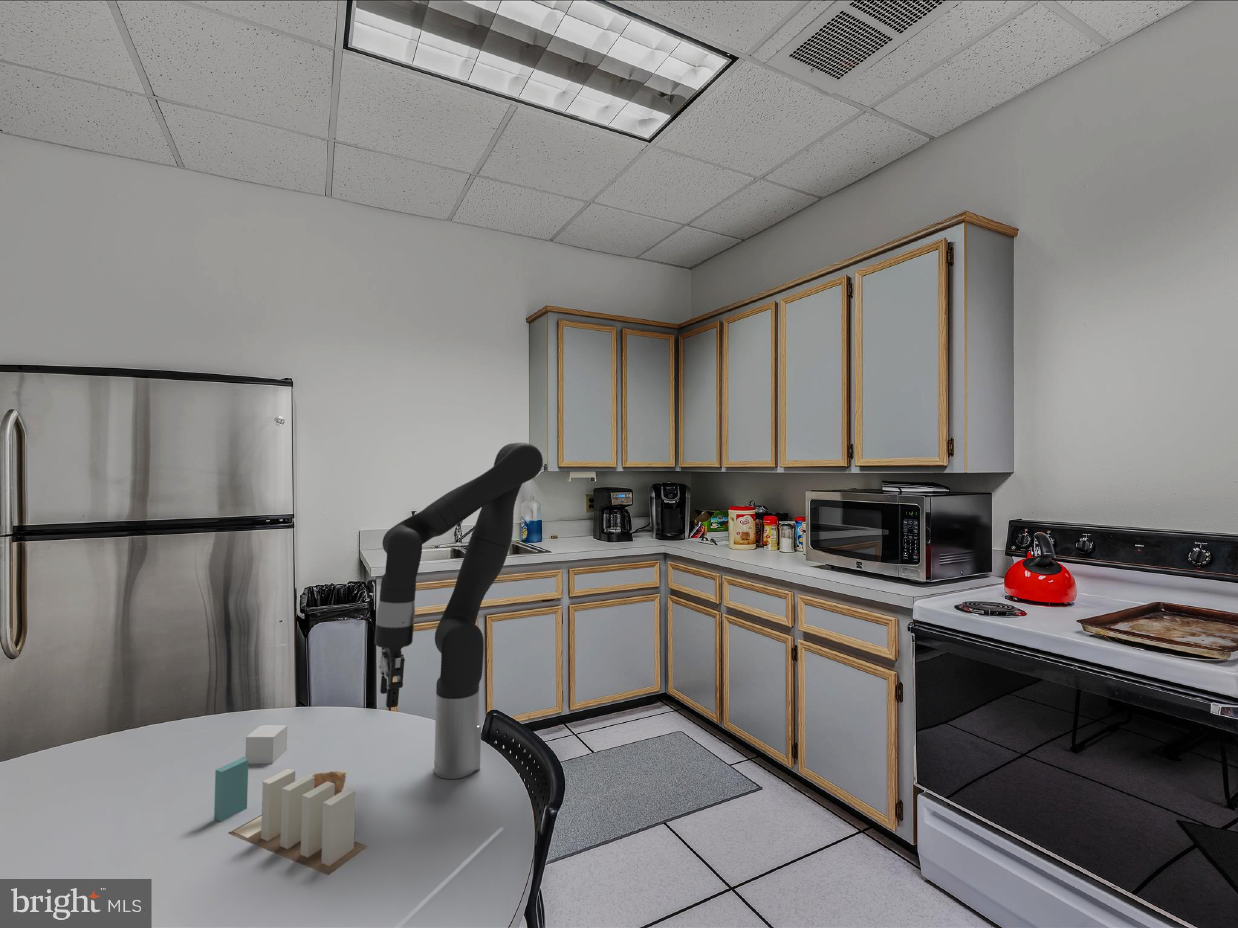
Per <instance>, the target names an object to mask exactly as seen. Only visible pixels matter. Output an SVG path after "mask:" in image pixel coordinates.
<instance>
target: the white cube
mask: <svg viewBox="0 0 1238 928" xmlns="http://www.w3.org/2000/svg"><path fill="white" fill-rule="evenodd" d="M287 750H288V725H287V724H286V725H282V724H281V725H279V724H278V725H277V724H276V725H275V724H274V725H273V724H272V725H271V724H269V725H265V724H261V725H260V726H258V727H257V728H256V729H254V730H253V731H252V732H251V733H250V734H248V735H247V736H246V737H245V757H244V759H247V760H248V765H250V764H251V765H253V764H255V765H256V764H257V765H258V764H259V765H260V764H261V765H262V764H268V765H269V764H271V765H272V764H274V763H275V762H276V761H277V760H278V759H279V758H281V757H282V756H283V755H284V754H285V753H286V752H288V751H287ZM285 751H286V752H285ZM284 752H285V753H284ZM282 754H283V755H282Z"/></svg>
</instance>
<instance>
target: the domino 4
mask: <svg viewBox="0 0 1238 928" xmlns="http://www.w3.org/2000/svg"><path fill="white" fill-rule="evenodd" d="M355 815H356V789H353V788H350V787H347V788H345V789H344V790H342V792H340V793H338V794H337V795H335V796H333V797H332V798H330V799H328V800H327V801H325V802H323V826H322V862H321V863H323V864H325V865H328V866H330V865H331V864H333V863H334V862H336V861H337V860H338V859H340V858H341V857H343V856H344V855H345V854H347V853H348V852H350V851H351V850H352V849H354V841H355V823H356V820H355V817H356V816H355Z"/></svg>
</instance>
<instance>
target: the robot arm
mask: <svg viewBox="0 0 1238 928" xmlns="http://www.w3.org/2000/svg"><path fill="white" fill-rule="evenodd" d="M543 461H544V458H543V455H542V453H541V451H540V449H539V448H538V447H536V446H535V445H534V444H531V443H527V442H514V443H508V444H506V445H504V446H503V447H502V448H500V449H499V451H498V452H497V454H496V456H495V460H494V463H493V466H492V467H491V468H489V469H488V470H486V471H485V472H484V473H482V474H481V475H479V476H478V477H475V478H473V479H472V480H469V481H468V482H465V483H464V484H462V485H460V486H458V487H455V488H454V489H452V490H450V491H448V492H446V493H445V494H444V495H442V496H440V497H439V498H437V499H436V500H434V501H433V502H432V503H430V504H429V505H427V506H425V508H424V509H422V510H421V511H418V512H417V513H415V514H413V515H411V516H409V517H407V518H406V519H403V520H402V521H400V522H398V523H397V524H396V525H394V526H392V527H390V529H389V530H387V531H386V533H385V534H384V535H383V538H382V548H383V550H384V552H385V553H386V560H385V561H386V562H385V572H384V574H383V575H382V578H381V581H380V590H379V601H378V606H377V611H376V619H375V620H376V621H375V631H374V632H375V633H374V634H375V635H374V641H373V642H374V645H375V646H377V647H379V648H381V652H380V653H381V654H380V660H379V661H380V662H379V663H380V664H379V666H378V667H379V670H380V672H379V673H380V675H381V676H380V689H379V692H380V694H381V695H384V694H386V699H385V700H386V701H385V707H386V708H388V709H390V708H396V707H398V705H399V698H400V688H401V689H402V688H403V686H404V671H405V670H404V669H405V661H406V659H405V657H404V656H405V655H404V654H403V653H402V649H403V648H405V647H409V646H410V645H412V644H413V642H414V641H413V639H414V628H415V627H414V626H415V616H416V590H417V577H418V573H419V568H420V564H421V559H422V553H423V544H426V543H427V542H428V541H430V540H431V539H433V538H435V537H441V536H443V535H444V534H446V533H447V532H449V531H450V530H452V529H453V528H455V527H456V526H458V525H459V524H460V523H462V522H463V521H465V520H466V519H468V518H469V517H470V516H471V515H473V514H474V513H475V512H477V511H479V514H478V517H477V520H476V522H475V526H474V528H473V529H472V530H473V531H472V533H471V536H470V538H469V541H468V544H467V546H466V551H465V553H464V557H463V559H462V563H461V566H460V569H459V571H458V574H457V578H456V582H455V585H454V588H453V590H452V591H453V592H452V594H451V596H450V598H449V601H448V603H447V605H446V606H445V607H446V608H445V609H444V611H443V613H442V616H441V618H440V620H439V623H438V625H437V627H436V629H435V632H434V644H435V646H436V649H437V650H438V652H439V653H440V654H441V655H440V656H441V657H440V659H441V660H440V676H439V678H438V679H437V681H436V685H435V686H436V688H435V689H436V690H435V722H434V723H435V724H434V725H435V727H434V728H435V731H434V733H435V734H434V762H433V765H434V768H433V771H434V774H435V775H436V776H437V777H439V778H442V779H447V780H455V779H461V778H465V777H467V776H469V775H471V774H473V773H474V772H476V771H479V770H480V769H481V745H482V744H481V743H482V725H480V723H479V707H480V706H479V700H480V682H481V680H482V677H483V669H484V668H483V666H484V654H485V653H484V648H485V645H484V640H485V639H484V636H483V633H482V630H481V628H480V627H479V626H478V625H476V623H477V620H478V616H479V611H480V608H481V606H482V603H483V600H484V598H485V596H486V594H487V592H488V591H489V589H490V588H491V587H492V585H493V583H494V582H495V581H496V579H497V578H498V576H499V574H500V573H501V571H502V569H503V567H504V565H505V563H506V560H507V557H508V555H509V554H508V553H509V550H510V547H511V544H512V541H513V532H514V514H515V513H514V512H515V511H514V510H515V505H516V501H517V499H518V495H519V492H520V490H521V488H522V485H523V484H524V483H527V482H529V481H531V480H533V479H534V478H536V477H537V476H538V475H539V474H540V472H541V470H542V469H543V464H544V462H543ZM395 678H396V681H394V679H395Z"/></svg>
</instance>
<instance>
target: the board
mask: <svg viewBox="0 0 1238 928" xmlns="http://www.w3.org/2000/svg"><path fill="white" fill-rule="evenodd" d="M261 823H262V814H260V815H258V816H256V817H254V818H253V819H251V820H250V821H248V822H246V823H244V824H242V825H240V826H238V827H236V828H235V829H233V830H231V831H230V832H228V835H231V836H233V837H236V838H238V839H240V840H243V841H246V842H248V843H250V844H253V845H255V846H258V847H260V848H263V849H265V850H266V851H270V852H272V853H274V854H277V855H280V856H282V857H284V858H287V859H289V860H292V861H294V862H295V863H298V864H301V865H304V866H306V867H308V868H311V869H312V870H315V871H319V872H320V873H323V874H325V875H327V876H329V875H330V874H332V873H333V872H334V871H336V870H337V869H338V868H340V867H341V866H343V865H344V864H345V863H347V862H348V861H350V860H351V859H352V858H354V857H355V856H357V855H358V854H359V853H361V852H362V851H364V850H365V849H366V848H367V847H368V845H366V844H363V843H361V842H358V841H356V840H354V849H352V850H351V851H350V852H348V853H347V854H345V855H344V856H343V857H341V858H340V859H338V860H337V861H336V862H334V863H333V864H331V865H330V866H328V865H325V864H323V863H321V862H322V848H321V849H320V850H318V851H317V852H315V853H314V854H312V855H311V856H309V857H306V856H303V855H301V841H300V842H298V843H296V844H295V845H293V846H292V847H290V848H289V849H286V848H284V847H281V846H280V843H281V834H279V835H277V836H276V837H274V838H272V839H271V840H269V841H266V840H264V839H261Z"/></svg>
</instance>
